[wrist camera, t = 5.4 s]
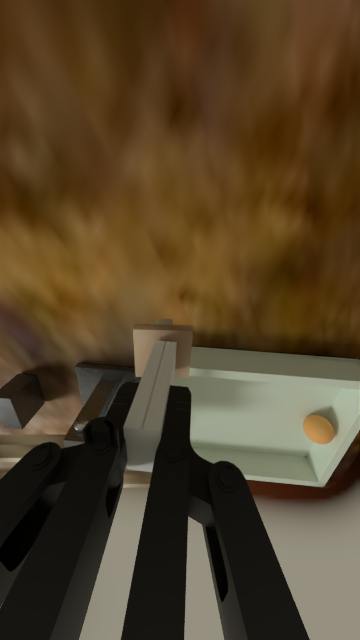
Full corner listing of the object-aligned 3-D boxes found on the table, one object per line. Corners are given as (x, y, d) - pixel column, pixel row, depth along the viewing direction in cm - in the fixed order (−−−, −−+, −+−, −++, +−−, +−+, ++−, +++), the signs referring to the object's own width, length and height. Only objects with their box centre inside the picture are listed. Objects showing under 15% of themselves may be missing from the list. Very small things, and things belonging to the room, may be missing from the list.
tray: (152, 441, 32) (146, 469, 28) (150, 343, 24) (143, 364, 20) (308, 456, 31) (323, 487, 27) (358, 359, 23) (388, 383, 20)
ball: (318, 426, 27) (294, 426, 27) (326, 409, 26) (302, 408, 26) (335, 450, 24) (309, 450, 24) (345, 432, 23) (318, 432, 23)
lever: (-27, 460, 22) (-58, 497, 19) (-123, 307, 14) (-200, 328, 11) (179, 459, 23) (180, 493, 20) (190, 316, 16) (194, 338, 13)
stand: (33, 414, 31) (-29, 486, 22) (12, 357, 26) (-74, 420, 18) (148, 424, 30) (130, 503, 22) (147, 368, 26) (123, 439, 17)
